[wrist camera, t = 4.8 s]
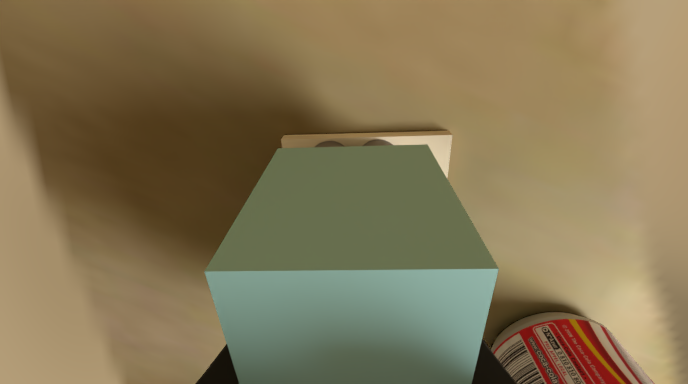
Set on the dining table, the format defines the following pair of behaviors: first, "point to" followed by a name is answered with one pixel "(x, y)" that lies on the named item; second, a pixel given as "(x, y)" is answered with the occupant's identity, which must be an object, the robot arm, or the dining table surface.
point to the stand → (378, 142)
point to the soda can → (565, 352)
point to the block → (353, 272)
